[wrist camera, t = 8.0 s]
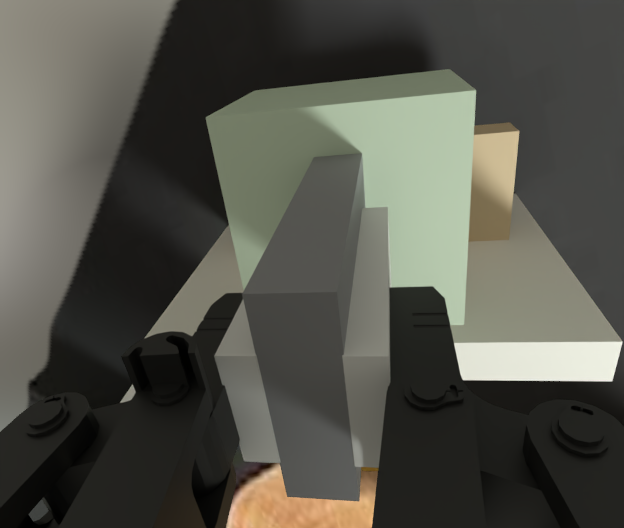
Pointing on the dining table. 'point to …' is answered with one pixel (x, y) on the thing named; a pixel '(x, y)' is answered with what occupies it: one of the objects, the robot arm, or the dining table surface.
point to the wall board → (477, 287)
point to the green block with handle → (338, 235)
